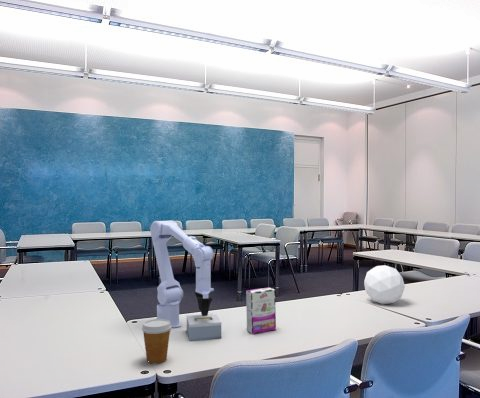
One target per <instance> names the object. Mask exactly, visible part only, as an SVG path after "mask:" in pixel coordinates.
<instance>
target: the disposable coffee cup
mask: <svg viewBox="0 0 480 398" xmlns="http://www.w3.org/2000/svg"><path fill="white" fill-rule="evenodd" d="M172 328H173V327H172V325H171V324H170V321H169V320H165V319H155V318H154V319H149V320H146V321H144V322H143V323H142V326H141V330H142V332H143V333H142V334H143V339H144V340H143V341H144V348H145V356H146V361H147V360H148V361H149V362H150V363H149V364H152V363H158V364H162V363H164V362H166V361H167V360H168V359H167V357H168V351H169V341H170V334H171V333H170V332H171V329H172Z"/></svg>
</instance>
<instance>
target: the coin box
mask: <svg viewBox="0 0 480 398" xmlns="http://www.w3.org/2000/svg"><path fill="white" fill-rule="evenodd" d="M207 318H210V320H201V321H197V319H207ZM186 334H187V337H188V340H189V342H192V341H195V342H197V341H206V340H217V339H222V321H221V319H220V318H219V316H218V314H217V313H208V315H207V316H202V314H193V315H191V314H190V315H186Z"/></svg>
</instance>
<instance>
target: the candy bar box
mask: <svg viewBox="0 0 480 398" xmlns="http://www.w3.org/2000/svg"><path fill="white" fill-rule="evenodd" d="M245 295H246V296H245V298H246V299H245V300H246V307H245V308H246V331H247V333H250V334H251V335H257V334H261V333H268V332H273V331H276V330H277V322H276V321H277V318H276V315H277V314H276V313H277V312H276V288H275V289H274V288H273V287H264V288H254V289H250V290H249V289H248V290H246V291H245Z"/></svg>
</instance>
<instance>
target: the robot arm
mask: <svg viewBox="0 0 480 398" xmlns="http://www.w3.org/2000/svg"><path fill="white" fill-rule="evenodd" d="M178 225H179V224H178V223H177V222H176V221H174V220H173V219H170V220H153V222H152V223H151V226H150V228H149V231H150V236H151V241H152V245H153V248H154V249H153V251H154V254H155V258H156V260H155V261H156V263H157V268H158V274H159V276H160V277H159V278H160V283H159V285H158V286H157V288H156V289H157V297H156V298H157V301H158V303H159V304H156V319H165V320H169V321H170V324H171V325H172V327H171V328H180V327H181V326H182V325H181V321H180V304H181V300H183V297H184V291H183V289H182V287H181V285H180V281H177V280H176V279H175V277H174V273H173V267H172V264H171V258H170V255H169V250H168V246H167V243H168V241H169V240H171V238H172V237H174V238H175V239H176V240H178V241H179V242H181V244H182V246H183V247H182V248H183V249H185V250H186V251H187V252H188V253H190V255H191V256H192V258H193V259H192V260H193V261H194V265H195V291H194V295H195V297H196V300H197V305H198V311H200V315H202V316H207V315H208V314H209V310H210V305H211V302H212V301H213V296H209V294H210V293H211V292H214V291H215V290H214V289H215V288H213V287H212V285H211V284H212V283H211V282H212V281H211V279H212V278H211V277H212V275H211V263H212V262H211V261H212V260H213V259H214V257H215V256H214V254H215V253H214V250H213V248H212V247H211V246H209V245H204V244H203V243H202V242H200V241H199V240H198V239H197V237H196V236H192V235H190V236H188V234H187V233H185V232H184V230H182V229H181V228H180V227H179V226H178Z"/></svg>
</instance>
